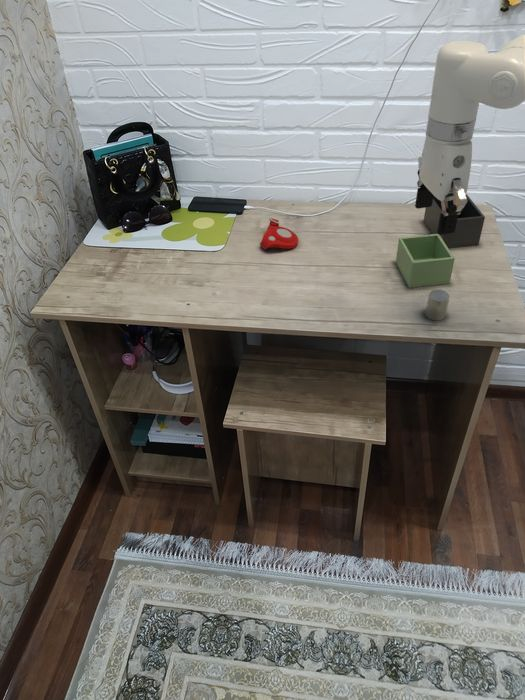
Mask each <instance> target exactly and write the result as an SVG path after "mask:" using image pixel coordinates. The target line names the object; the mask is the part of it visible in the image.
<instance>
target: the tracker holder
mask: <svg viewBox="0 0 525 700" xmlns="http://www.w3.org/2000/svg"><path fill="white" fill-rule="evenodd" d="M268 221H269V224H268V227H267V230H266V231H265V233H264V234H263V236H262V238H261V242H259V245H260V246H261V247H262V248H263V249H264V250H267V249H269V248H279V249H285V250H286V249H287V250H288V249H289V250H290V249H294V248H296V247H297V246H298V244H299V238H298V236H297V234H296V233H295V232H294V231H292V230H291V229H288V228H286V227H283V226H280V222H279V219H276V218H269V219H268Z"/></svg>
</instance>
